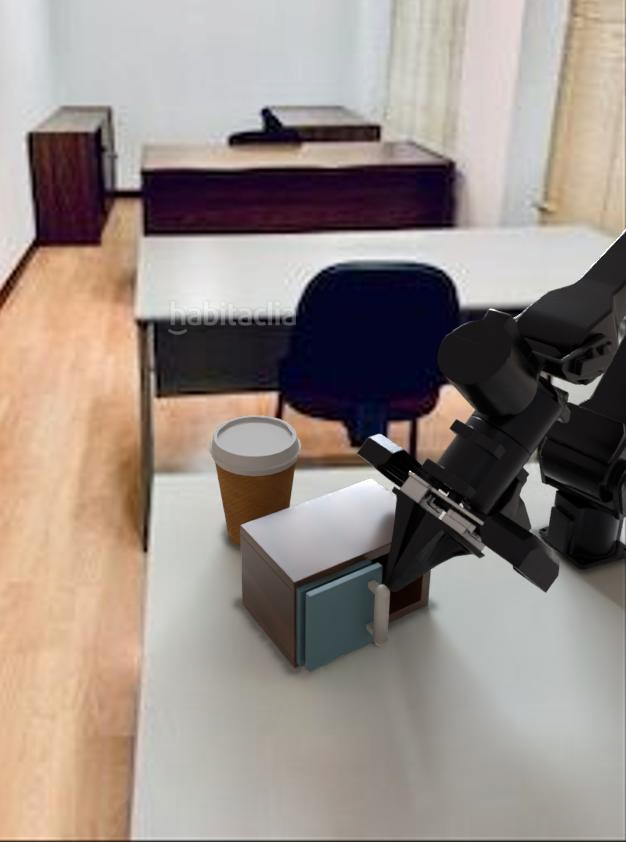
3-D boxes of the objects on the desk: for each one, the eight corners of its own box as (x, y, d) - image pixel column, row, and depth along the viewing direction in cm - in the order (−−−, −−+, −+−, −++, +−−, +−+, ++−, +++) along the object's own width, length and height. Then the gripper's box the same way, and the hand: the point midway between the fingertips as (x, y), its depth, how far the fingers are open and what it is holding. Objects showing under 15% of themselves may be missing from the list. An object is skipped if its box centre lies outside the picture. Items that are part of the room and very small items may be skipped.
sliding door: (374, 634, 67) (378, 561, 64) (394, 654, 65) (399, 580, 62) (304, 667, 64) (305, 592, 61) (323, 690, 61) (324, 613, 59)
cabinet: (368, 552, 79) (371, 477, 75) (432, 609, 71) (439, 528, 68) (242, 604, 72) (239, 524, 69) (297, 673, 64) (298, 587, 61)
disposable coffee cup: (295, 565, 77) (295, 462, 73) (203, 555, 79) (198, 454, 75) (305, 511, 86) (306, 416, 82) (223, 503, 88) (219, 410, 83)
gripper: (633, 532, 61) (519, 693, 59) (462, 433, 76) (369, 560, 75) (581, 472, 54) (453, 651, 53) (406, 378, 70) (304, 515, 69)
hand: (389, 588), depth 63 cm, fingers closed, pressing on sliding door
